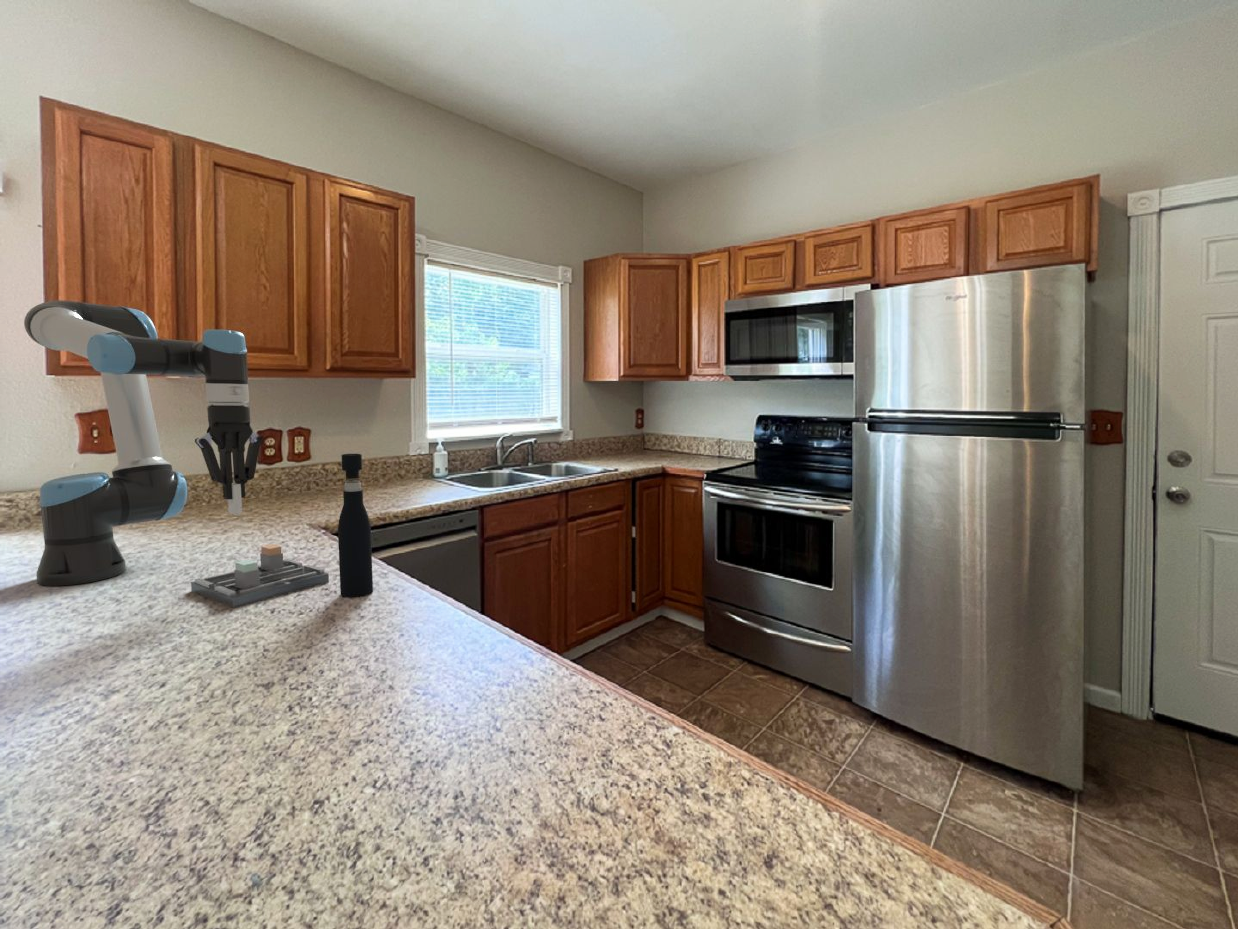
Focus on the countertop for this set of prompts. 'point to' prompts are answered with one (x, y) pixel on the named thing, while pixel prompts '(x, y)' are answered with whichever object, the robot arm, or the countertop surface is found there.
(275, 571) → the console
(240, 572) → the knob
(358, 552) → the black water bottle
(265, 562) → the knob
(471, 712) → the countertop surface
